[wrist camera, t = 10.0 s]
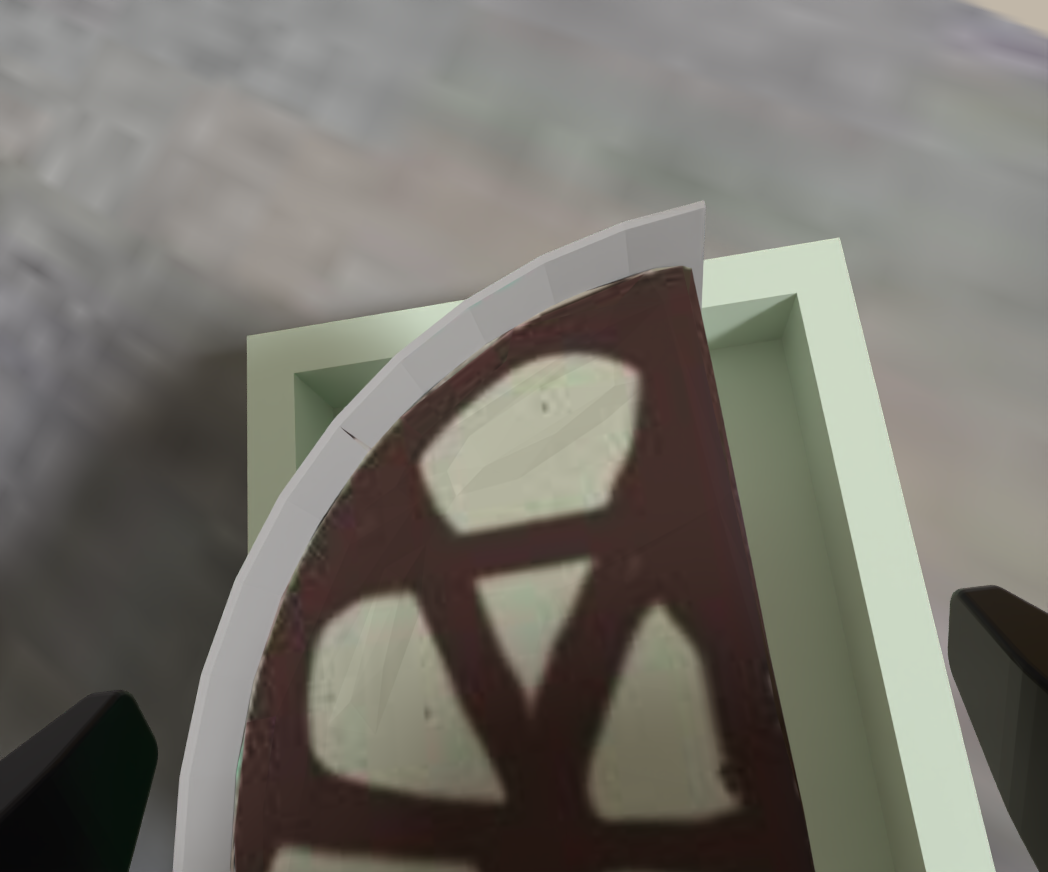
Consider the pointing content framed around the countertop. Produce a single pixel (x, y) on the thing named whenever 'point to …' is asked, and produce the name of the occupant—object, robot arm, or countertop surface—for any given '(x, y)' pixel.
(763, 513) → the tray
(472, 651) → the food container
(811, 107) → the countertop surface
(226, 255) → the countertop surface
